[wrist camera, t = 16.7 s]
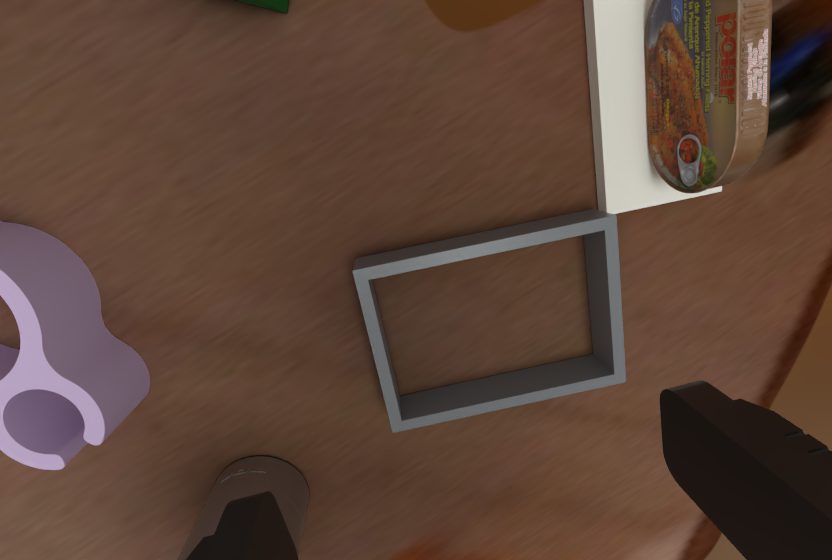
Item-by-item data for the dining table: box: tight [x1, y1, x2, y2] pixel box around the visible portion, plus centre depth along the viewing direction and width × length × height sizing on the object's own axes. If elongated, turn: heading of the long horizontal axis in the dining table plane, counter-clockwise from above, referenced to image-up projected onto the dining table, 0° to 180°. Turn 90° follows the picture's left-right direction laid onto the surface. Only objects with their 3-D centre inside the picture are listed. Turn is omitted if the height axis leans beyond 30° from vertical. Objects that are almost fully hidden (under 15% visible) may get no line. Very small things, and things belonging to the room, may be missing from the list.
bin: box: [352, 209, 626, 433], centre depth 38 cm, size 15×21×4 cm
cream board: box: [584, 0, 722, 214], centre depth 35 cm, size 18×10×2 cm, turn 11°
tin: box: [644, 0, 772, 193], centre depth 30 cm, size 15×3×8 cm, turn 11°
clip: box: [0, 221, 150, 470], centre depth 34 cm, size 20×12×7 cm, turn 32°
